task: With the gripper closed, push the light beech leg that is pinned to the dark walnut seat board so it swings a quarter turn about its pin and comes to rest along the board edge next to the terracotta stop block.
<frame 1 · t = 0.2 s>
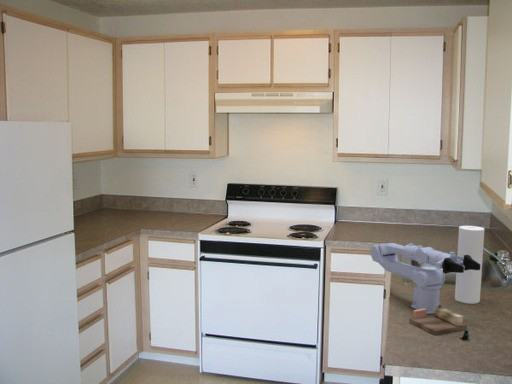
hand: (471, 268, 189), 21 cm above the counter, tool horizontal, fingers open, 7 cm apart
sculpture: (465, 340, 182), on the counter
seat board: (437, 325, 194), on the counter
hinged leg: (448, 314, 194), point 4 cm above the counter, hinge at 0.0°
stop block: (419, 313, 197), on the seat board, point 3 cm above the counter
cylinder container: (467, 300, 222), on the counter
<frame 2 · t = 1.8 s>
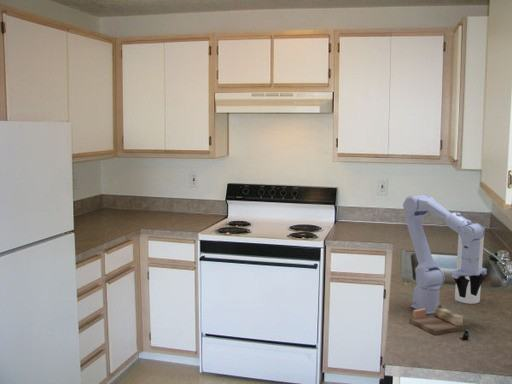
hand: (468, 295, 194), 10 cm above the counter, tool pointing down, fingers open, 5 cm apart
nothing on the counter moved.
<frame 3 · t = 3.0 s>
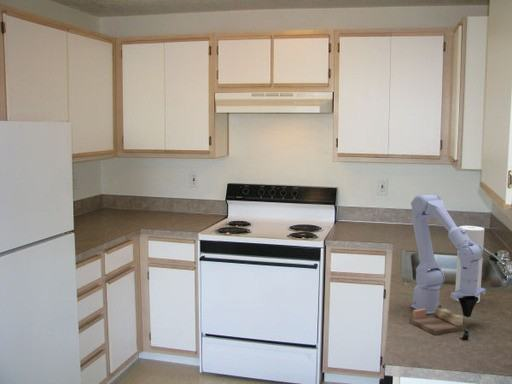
hand: (466, 316, 195), 3 cm above the counter, tool pointing down, fingers closed
nothing on the counter moved.
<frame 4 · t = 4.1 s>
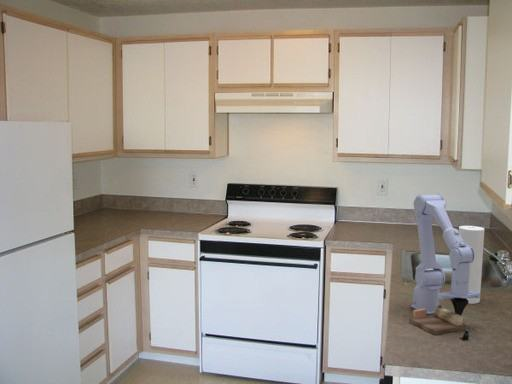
hand: (458, 318, 193), 3 cm above the counter, tool pointing down, fingers closed, pressing on hinged leg
hinged leg: (447, 314, 194), point 4 cm above the counter, hinge at 0.7°, touching gripper
everything else where it was.
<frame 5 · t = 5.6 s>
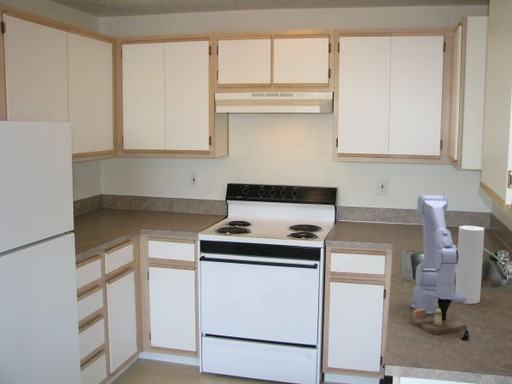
hand: (443, 319, 191), 3 cm above the counter, tool pointing down, fingers closed, pressing on hinged leg
hinged leg: (438, 314, 194), point 4 cm above the counter, hinge at 46.9°, touching gripper
everything else where it was.
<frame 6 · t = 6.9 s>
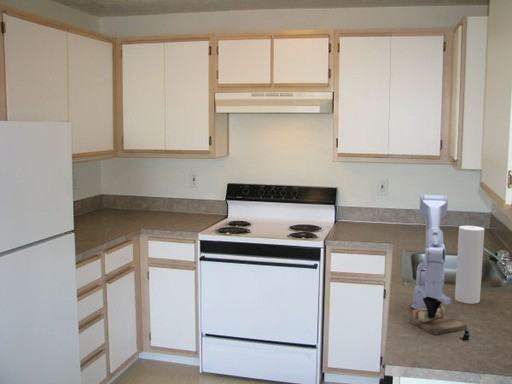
hand: (431, 318, 193), 3 cm above the counter, tool pointing down, fingers closed
hinged leg: (431, 312, 196), point 4 cm above the counter, hinge at 82.4°, touching gripper
everything else where it was.
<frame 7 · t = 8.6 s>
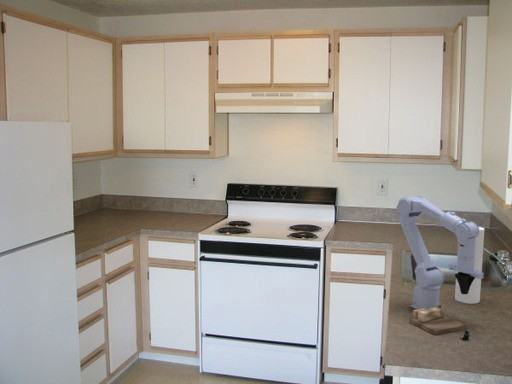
hand: (464, 293, 196), 10 cm above the counter, tool pointing down, fingers closed
hinged leg: (431, 312, 196), point 4 cm above the counter, hinge at 83.4°
everything else where it was.
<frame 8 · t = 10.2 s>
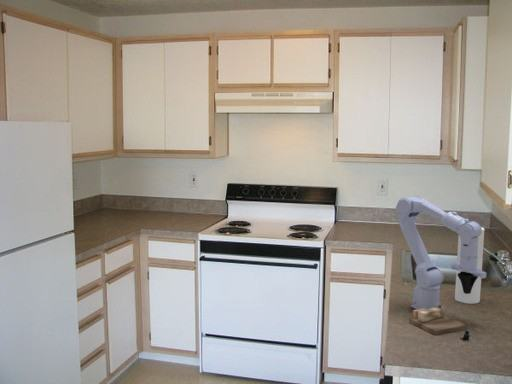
hand: (467, 293, 197), 10 cm above the counter, tool pointing down, fingers closed
nothing on the counter moved.
at the end: hinged leg at +83° (first picture: +0°) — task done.
